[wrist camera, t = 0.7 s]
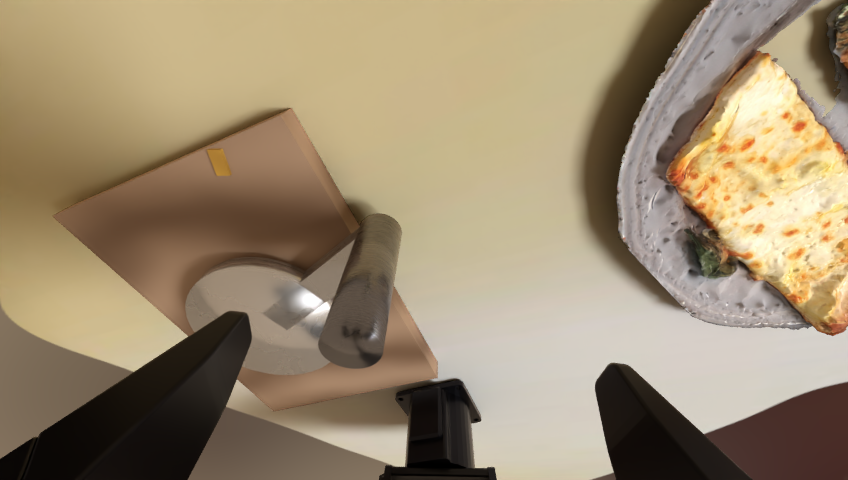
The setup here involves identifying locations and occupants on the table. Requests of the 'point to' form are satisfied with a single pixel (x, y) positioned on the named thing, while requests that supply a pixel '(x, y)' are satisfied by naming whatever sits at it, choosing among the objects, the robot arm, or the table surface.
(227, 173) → the stand base
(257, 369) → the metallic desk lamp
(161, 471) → the robot arm
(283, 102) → the table surface
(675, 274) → the food plate
